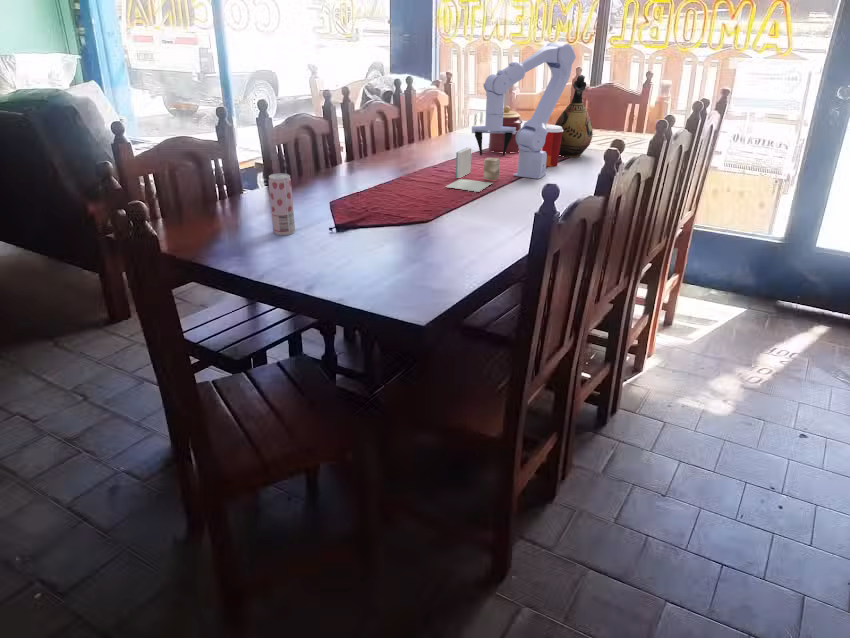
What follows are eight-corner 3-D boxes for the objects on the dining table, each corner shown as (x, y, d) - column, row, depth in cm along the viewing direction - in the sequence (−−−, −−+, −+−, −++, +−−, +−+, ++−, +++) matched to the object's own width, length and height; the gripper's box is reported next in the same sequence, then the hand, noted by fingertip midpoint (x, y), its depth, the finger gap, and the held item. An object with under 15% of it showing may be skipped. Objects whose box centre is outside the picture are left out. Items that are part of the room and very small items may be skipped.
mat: (492, 184, 222) (492, 183, 221) (478, 192, 212) (478, 191, 212) (460, 180, 227) (460, 178, 226) (444, 188, 217) (445, 186, 217)
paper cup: (559, 163, 251) (562, 125, 245) (560, 167, 244) (564, 128, 238) (538, 162, 252) (541, 124, 246) (539, 167, 245) (542, 128, 239)
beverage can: (285, 227, 179) (280, 172, 172) (299, 231, 176) (295, 175, 169) (268, 232, 175) (263, 176, 168) (282, 237, 172) (277, 179, 165)
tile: (470, 173, 235) (471, 148, 231) (459, 179, 228) (460, 152, 224) (466, 173, 236) (467, 147, 232) (455, 178, 229) (456, 152, 225)
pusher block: (498, 179, 229) (499, 158, 226) (494, 181, 225) (495, 161, 222) (487, 177, 230) (488, 157, 227) (483, 180, 227) (484, 159, 224)
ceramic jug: (590, 160, 255) (600, 78, 242) (549, 158, 258) (557, 77, 245) (589, 151, 270) (598, 73, 257) (551, 149, 273) (558, 72, 260)
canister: (509, 155, 263) (512, 109, 255) (482, 151, 270) (484, 106, 262) (526, 150, 272) (529, 105, 264) (499, 146, 279) (501, 102, 271)
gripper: (516, 112, 221) (513, 153, 227) (472, 111, 222) (470, 152, 228) (517, 115, 215) (514, 157, 221) (472, 114, 216) (470, 156, 222)
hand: (492, 155), depth 224 cm, fingers open, 7 cm apart
